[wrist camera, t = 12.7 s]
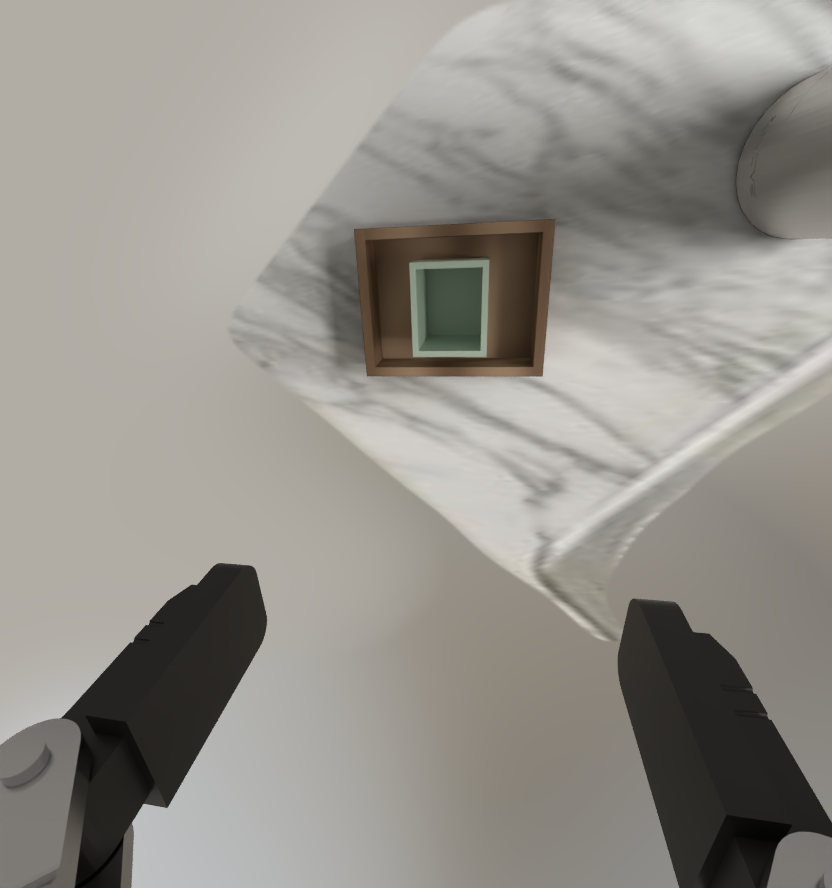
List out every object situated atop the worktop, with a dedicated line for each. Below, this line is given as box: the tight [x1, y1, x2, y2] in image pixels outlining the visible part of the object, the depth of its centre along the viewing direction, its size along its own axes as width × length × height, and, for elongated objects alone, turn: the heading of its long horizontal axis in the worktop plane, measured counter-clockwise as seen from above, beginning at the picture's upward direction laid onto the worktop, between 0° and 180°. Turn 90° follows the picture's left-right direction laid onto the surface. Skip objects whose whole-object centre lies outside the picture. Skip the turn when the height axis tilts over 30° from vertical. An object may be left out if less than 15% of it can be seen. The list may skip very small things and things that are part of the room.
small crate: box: [409, 257, 489, 357], centre depth 31 cm, size 5×6×6 cm
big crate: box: [354, 219, 555, 376], centre depth 33 cm, size 13×10×4 cm
